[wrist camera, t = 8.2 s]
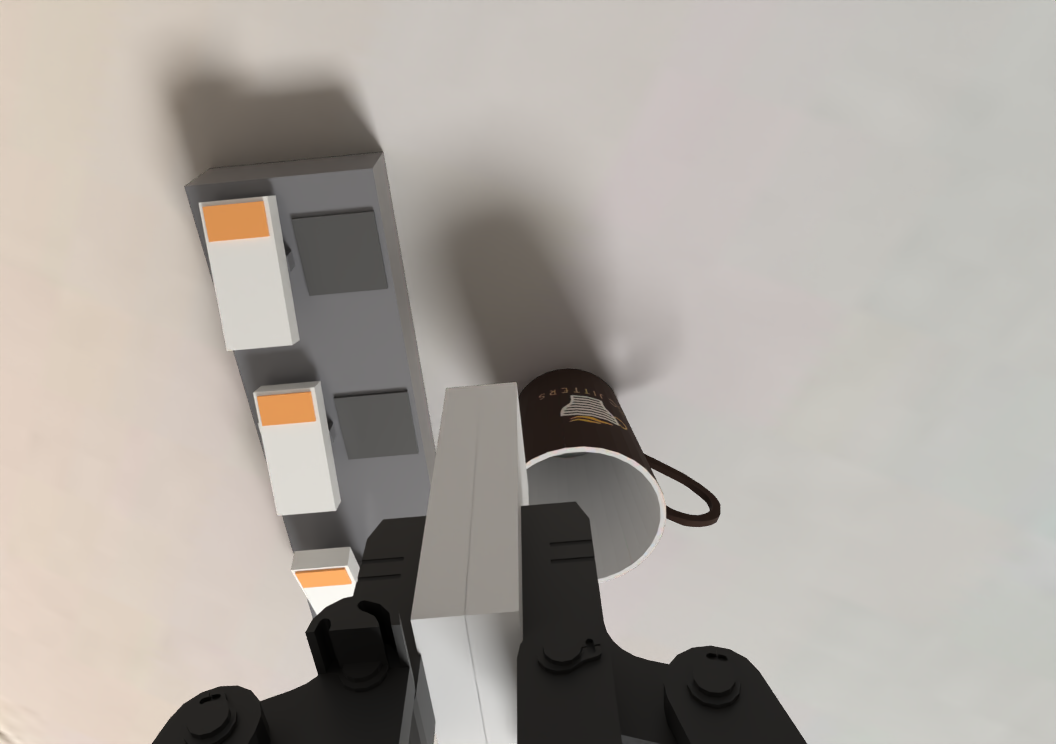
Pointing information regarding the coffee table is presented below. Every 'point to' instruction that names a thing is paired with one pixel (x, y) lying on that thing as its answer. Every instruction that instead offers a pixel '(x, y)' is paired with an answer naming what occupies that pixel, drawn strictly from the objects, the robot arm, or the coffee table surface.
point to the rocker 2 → (297, 447)
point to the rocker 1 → (250, 272)
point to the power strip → (342, 336)
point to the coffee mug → (598, 468)
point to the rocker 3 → (325, 575)
